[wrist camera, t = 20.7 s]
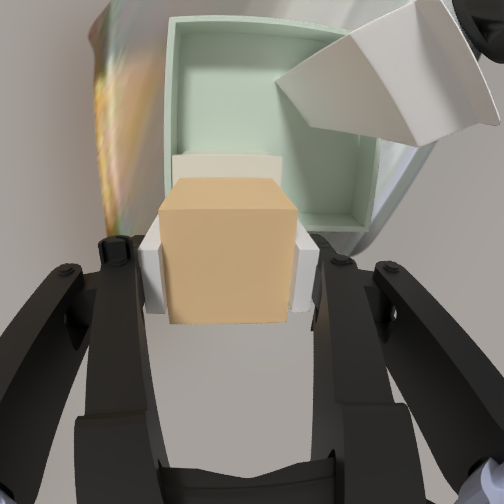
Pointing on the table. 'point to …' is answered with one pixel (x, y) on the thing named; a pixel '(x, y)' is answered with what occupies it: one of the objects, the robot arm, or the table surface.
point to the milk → (395, 79)
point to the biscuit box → (227, 250)
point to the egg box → (226, 165)
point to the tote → (264, 113)
